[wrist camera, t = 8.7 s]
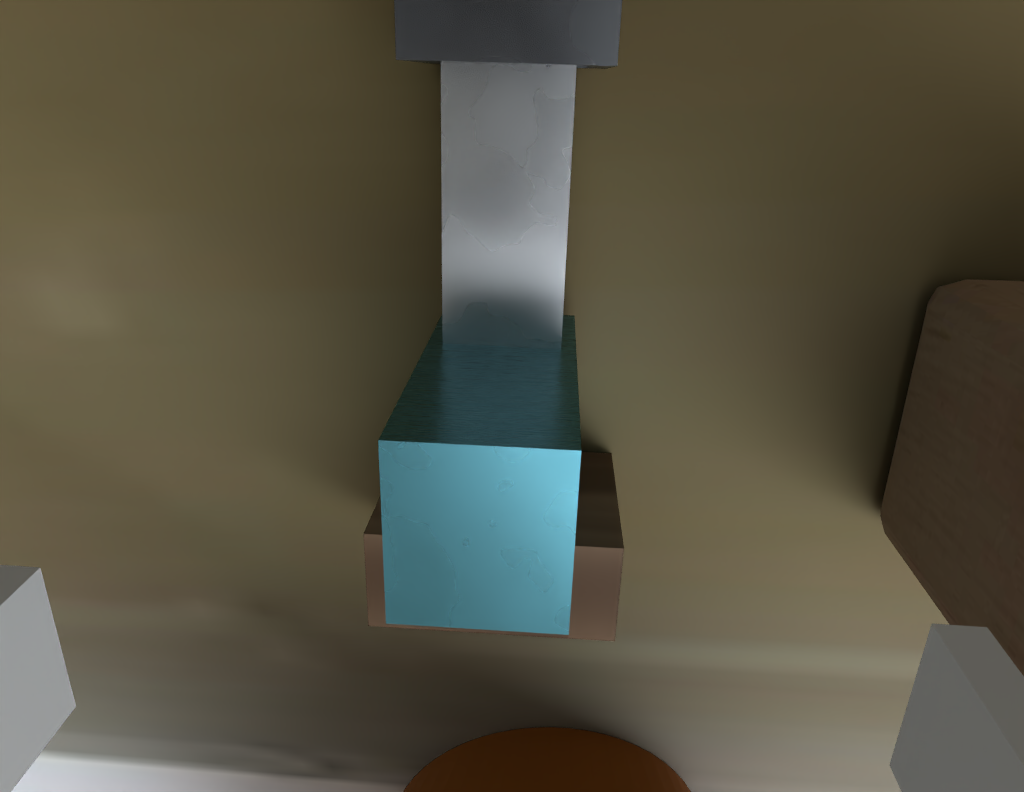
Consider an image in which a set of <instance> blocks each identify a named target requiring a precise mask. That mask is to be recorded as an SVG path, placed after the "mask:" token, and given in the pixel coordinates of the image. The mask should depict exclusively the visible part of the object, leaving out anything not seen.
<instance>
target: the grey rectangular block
mask: <svg viewBox="0 0 1024 792" xmlns="http://www.w3.org/2000/svg"><path fill="white" fill-rule="evenodd" d="M394 5H395V43H396V60H404V61H413V62H421V63H431V64H441V61H448V62H482V63H516V64H550V65H577V68H601V69H606V68H611V67H615V66H617V63H618V49H619V35H620V22H621V8H622V0H394Z"/></svg>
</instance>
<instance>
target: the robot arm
mask: <svg viewBox="0 0 1024 792" xmlns="http://www.w3.org/2000/svg"><path fill="white" fill-rule="evenodd" d="M75 707H76V704H75V700H74V696H73V692H72V688H71V685H70V681H69V677H68V673H67V669H66V665H65V661H64V657H63V654H62V650H61V646H60V642H59V638H58V634H57V630H56V626H55V623H54V619H53V615H52V611H51V607H50V603H49V599H48V595H47V592H46V588H45V584H44V580H43V576H42V572H41V568H40V567H25V566H9V565H0V792H11V791H12V790H13V788H14V787H15V786H16V784H17V783H18V782H19V781H20V779H21V778H22V777H23V775H24V774H25V773H26V771H27V770H28V769H29V767H30V766H31V765H32V763H33V762H34V761H35V760H36V758H37V757H38V756H39V754H40V753H41V752H42V750H43V749H44V748H45V746H46V745H47V744H48V743H49V741H50V740H51V739H52V737H53V736H54V735H55V733H56V732H57V731H58V729H59V728H60V727H61V726H62V724H63V723H64V722H65V720H66V719H67V718H68V716H69V715H70V714H71V712H72V711H73V710H74V708H75ZM890 767H891V769H892V771H893V774H894V776H895V778H896V780H897V782H898V785H899V787H900V789H901V791H902V792H1024V676H1023V675H1022V673H1021V672H1020V671H1019V669H1018V668H1017V667H1016V665H1015V664H1014V663H1013V661H1012V660H1011V659H1010V657H1009V656H1008V655H1007V653H1006V652H1005V651H1004V649H1003V648H1002V646H1001V645H1000V644H999V642H998V641H997V640H996V638H995V637H994V636H993V634H992V633H991V632H990V630H989V629H988V628H987V627H977V626H961V625H945V624H932V625H931V628H930V631H929V635H928V638H927V641H926V645H925V648H924V652H923V655H922V658H921V662H920V665H919V668H918V672H917V675H916V678H915V682H914V685H913V688H912V692H911V695H910V698H909V702H908V705H907V708H906V712H905V715H904V718H903V722H902V725H901V728H900V732H899V735H898V738H897V742H896V745H895V748H894V752H893V755H892V758H891V762H890Z"/></svg>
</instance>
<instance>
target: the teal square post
mask: <svg viewBox="0 0 1024 792" xmlns="http://www.w3.org/2000/svg"><path fill="white" fill-rule="evenodd" d="M576 68H577V65H550V64H516V63H482V62H448V61H441V180H442V316H441V318H440V320H439V322H438V324H437V326H436V328H435V330H434V331H433V333H432V335H431V337H430V339H429V341H428V343H427V345H426V347H425V349H424V351H423V353H422V355H421V357H420V359H419V361H418V363H417V365H416V367H415V369H414V371H413V373H412V375H411V377H410V379H409V381H408V383H407V385H406V387H405V389H404V391H403V393H402V394H401V396H400V398H399V400H398V402H397V404H396V406H395V408H394V410H393V412H392V414H391V416H390V418H389V420H388V422H387V424H386V426H385V428H384V430H383V432H382V434H381V436H380V438H379V440H378V446H379V470H380V494H381V518H382V542H383V566H384V591H385V615H386V624H402V625H418V626H434V627H450V628H466V629H482V630H499V631H515V632H531V633H547V634H563V635H569V623H570V609H571V594H572V580H573V565H574V550H575V536H576V521H577V507H578V492H579V478H580V463H581V434H580V415H579V396H578V377H577V358H576V338H575V319H574V316H570V315H563V306H564V287H565V269H566V251H567V232H568V214H569V196H570V178H571V159H572V141H573V123H574V104H575V86H576Z"/></svg>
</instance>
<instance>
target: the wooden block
mask: <svg viewBox="0 0 1024 792" xmlns="http://www.w3.org/2000/svg"><path fill="white" fill-rule="evenodd" d="M881 520H882V524H883V528H884V532H885V534H886V535H887V537H888V538H889V540H890V541H891V542H892V544H893V545H894V547H895V548H896V549H897V551H898V552H899V554H900V555H901V556H902V558H903V559H904V561H905V562H906V564H907V565H908V566H909V568H910V569H911V571H912V572H913V573H914V575H915V576H916V578H917V579H918V580H919V582H920V583H921V585H922V586H923V588H924V589H925V590H926V592H927V593H928V595H929V596H930V597H931V599H932V600H933V602H934V603H935V604H936V606H937V607H938V609H939V610H940V611H941V613H942V614H943V616H944V617H945V619H946V620H947V621H948V623H949V624H950V625H961V626H977V627H987V628H988V629H989V630H990V632H991V633H992V634H993V636H994V637H995V638H996V640H997V641H998V642H999V644H1000V645H1001V646H1002V648H1003V649H1004V651H1005V652H1006V653H1007V655H1008V656H1009V657H1010V659H1011V660H1012V661H1013V663H1014V664H1015V665H1016V667H1017V668H1018V669H1019V671H1020V672H1021V673H1022V675H1023V676H1024V281H1001V280H970V279H966V280H962V281H959V282H956V283H952V284H948V285H944V286H940V287H937V289H936V290H935V292H934V293H933V295H932V297H931V298H930V300H929V302H928V305H927V309H926V313H925V318H924V322H923V327H922V331H921V335H920V340H919V344H918V348H917V353H916V357H915V362H914V366H913V370H912V375H911V379H910V383H909V388H908V392H907V397H906V401H905V405H904V410H903V414H902V419H901V423H900V427H899V432H898V436H897V440H896V445H895V449H894V454H893V458H892V462H891V467H890V471H889V475H888V480H887V484H886V489H885V493H884V497H883V502H882V506H881Z"/></svg>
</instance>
